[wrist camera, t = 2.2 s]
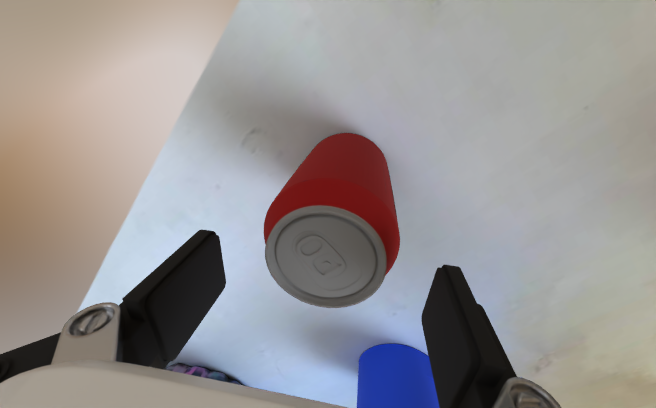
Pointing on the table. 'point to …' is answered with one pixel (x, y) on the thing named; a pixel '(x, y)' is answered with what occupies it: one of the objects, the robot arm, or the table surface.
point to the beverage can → (334, 224)
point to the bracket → (395, 378)
